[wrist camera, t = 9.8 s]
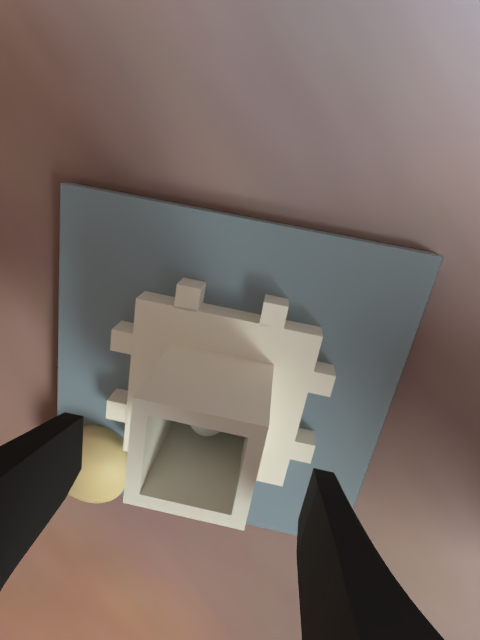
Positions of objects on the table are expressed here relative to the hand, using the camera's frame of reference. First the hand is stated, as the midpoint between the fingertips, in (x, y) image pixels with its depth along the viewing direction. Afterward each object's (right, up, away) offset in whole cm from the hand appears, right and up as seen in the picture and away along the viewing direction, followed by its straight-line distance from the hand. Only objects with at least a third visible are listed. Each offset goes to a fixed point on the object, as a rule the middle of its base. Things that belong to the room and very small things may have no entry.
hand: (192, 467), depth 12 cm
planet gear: (+1, +2, +5) cm, 5 cm away
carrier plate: (+1, +2, +5) cm, 6 cm away
